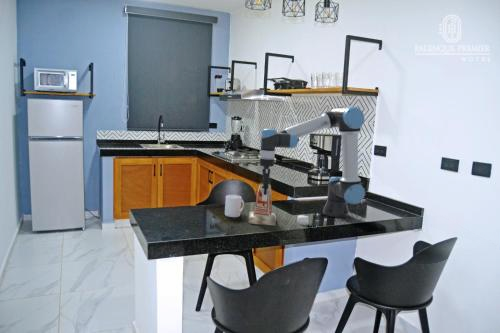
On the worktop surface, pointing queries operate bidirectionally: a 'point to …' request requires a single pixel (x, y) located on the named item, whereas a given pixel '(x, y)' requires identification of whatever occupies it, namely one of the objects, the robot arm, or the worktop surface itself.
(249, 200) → the worktop surface
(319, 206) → the worktop surface
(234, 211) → the mug
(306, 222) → the white block
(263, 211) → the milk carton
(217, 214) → the worktop surface
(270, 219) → the podium
